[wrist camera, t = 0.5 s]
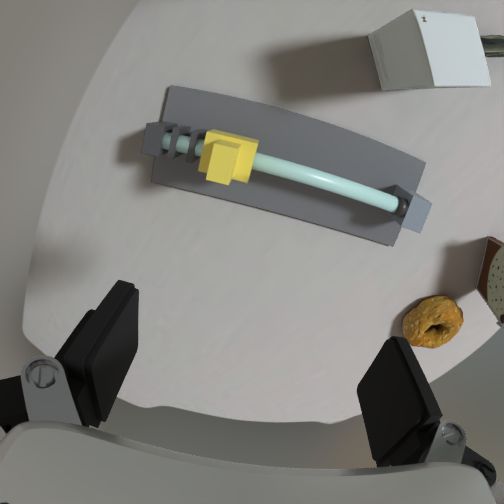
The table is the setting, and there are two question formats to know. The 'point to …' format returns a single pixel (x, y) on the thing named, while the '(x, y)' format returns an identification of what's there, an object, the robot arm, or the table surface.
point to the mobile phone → (493, 45)
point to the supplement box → (429, 52)
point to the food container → (493, 278)
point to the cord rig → (291, 165)
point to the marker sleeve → (227, 157)
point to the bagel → (432, 322)
